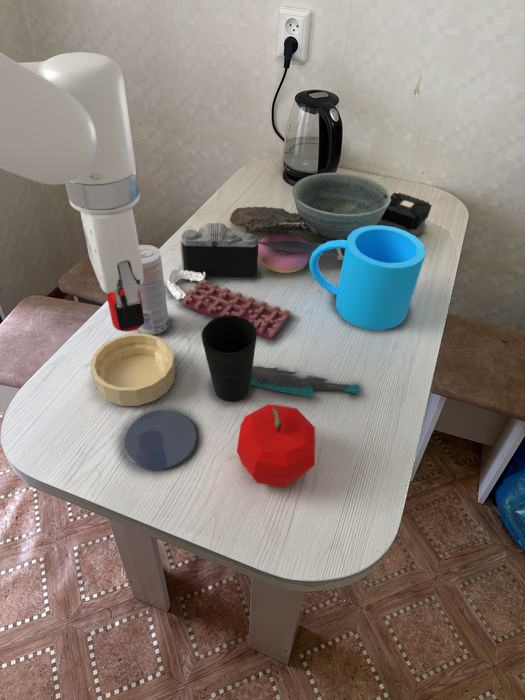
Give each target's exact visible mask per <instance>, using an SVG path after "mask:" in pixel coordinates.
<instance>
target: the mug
mask: <svg viewBox="0 0 525 700" xmlns="http://www.w3.org/2000/svg"><path fill="white" fill-rule="evenodd" d="M321 244H322V245H320V246H319V247H318V248H317V249H316V250H314V251H313V253H311V254H310V258H309V260H308V263H309V271H310V273H311V275H312V277H313V279H314V280H315V281H316V282H317V284H318V285H319V286H320V287H321V288H323V289H324V290H326V291H327V292H328V293H330V294H332V295H334V296H335V295H336V299H335V306H336V310H337V312H338V313H339V315H340V316H341V317H342V318H343V319H344V320H345V321H346V322H348V323H349V324H352V325H354V326H357V327H359V328H361V329H368V330H373V331H385V330H389V329H393V328H396V327H398V326H399V325H401V324H402V323H403V322H404V320H405V319H406V317H407V316H408V311H409V309H410V305H411V302H412V299H413V295H414V293H415V291H416V290H415V289H416V287H417V283H418V279H419V277H420V273H421V270H422V267H423V265H424V261H425V258H426V247H425V245H424V243H423V242H422V240H420V239H419V238H418V237H417V236H416V235H415V236H414V235H412V234H410V233H408V232H406V231H404V230H401V229H398V228H395V227H389V226H383V225H380V224H379V225H377V224H376V225H370V226H365V227H360V228H358V229H356V230H354V231H352V232H351V234H350V235H349V236H348V238H347V240H335V241H327V242H325V243H321ZM337 248H345V254H344V256H343V257H344V259H343V260H342V266H341V271H340V277H339V282H338V286H337V285H335V284H333V283H332V282H331V281H329V280H328V279H327V278H326V277H325V276H324V275H323V274H322V272H321V270H320V268H319V260H320V257H321V256H322V255H324V254H323V253H324V252H325V251H328V250H330V249H337Z"/></svg>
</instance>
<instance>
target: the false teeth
mask: <svg viewBox="0 0 525 700" xmlns="http://www.w3.org/2000/svg"><path fill="white" fill-rule="evenodd" d="M203 273H204V274H202V273H200V272H197V273H196V272H193V271H190V272H189V271H188V270H186V271H185V270H183V269H181V268H178V267H177V268H176V269H173V270H171V271H170V273H169V274H168V277H167V279H166V287H167V290H169V291H170V293H171V295H172V296H173V297H174V298H175V299H176V300H180V299H181V300H183V299H184V298H185V297H186V296H188V295H189V294H187V293H186V292H185V291H184V290H183V289H181V288H180V286H179V285H177V284H176V283H177V282H178V281H179V280H180V279H184V280H189V282H191V283H192V282H193V281H194V282H199V281H203V280H205V279H206V278H205V276H206V275H205V272H203Z"/></svg>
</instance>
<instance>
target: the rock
mask: <svg viewBox="0 0 525 700" xmlns="http://www.w3.org/2000/svg"><path fill="white" fill-rule="evenodd" d="M229 222H230V223H231V224H232V225H234V226H237V227H241V228H242V229H244V230H249V231H250V230H251V231H255V232H261V231H264V232H272V233H273V232H276V233H280V234H286V233H289V232H290V233H291V232H298V231H299V232H301V233H311V234H313V235H315V234H316V231H315V228H313V227H312V224H311V223H309V222H308V220H307V219H305V218H304V217H303V216H301V214H299V213H298V212H289V211H287V210H286V209H284V208H281V207H280V208H278V207H271V206H270V207H267V206H261V207H260V206H247V207H237V208H235V209H234V210H232V213H231V215H230V217H229Z"/></svg>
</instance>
